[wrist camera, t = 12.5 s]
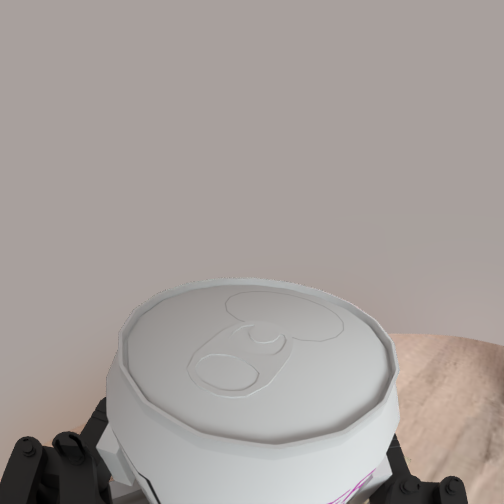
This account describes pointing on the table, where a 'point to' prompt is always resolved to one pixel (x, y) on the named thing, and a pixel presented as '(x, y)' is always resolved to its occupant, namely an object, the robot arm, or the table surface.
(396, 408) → the supplement can
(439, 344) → the table surface
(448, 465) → the table surface
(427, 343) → the table surface
